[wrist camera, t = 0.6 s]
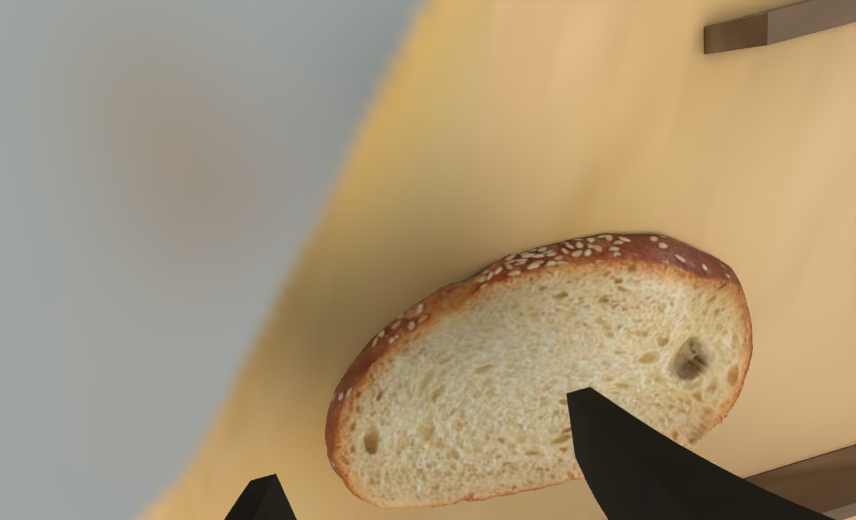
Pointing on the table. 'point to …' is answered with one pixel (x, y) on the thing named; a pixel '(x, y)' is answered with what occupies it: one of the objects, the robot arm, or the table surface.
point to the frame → (852, 467)
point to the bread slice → (538, 368)
